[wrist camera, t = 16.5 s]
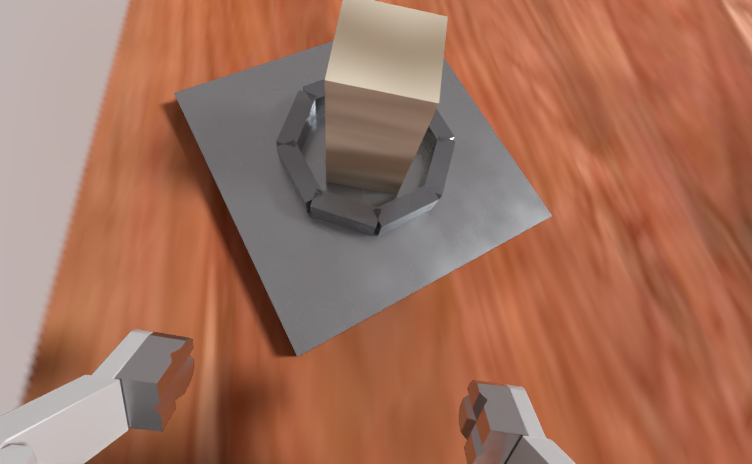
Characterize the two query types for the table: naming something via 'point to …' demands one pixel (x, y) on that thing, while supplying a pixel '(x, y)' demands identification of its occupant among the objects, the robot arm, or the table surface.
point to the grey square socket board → (350, 196)
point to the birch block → (380, 92)
